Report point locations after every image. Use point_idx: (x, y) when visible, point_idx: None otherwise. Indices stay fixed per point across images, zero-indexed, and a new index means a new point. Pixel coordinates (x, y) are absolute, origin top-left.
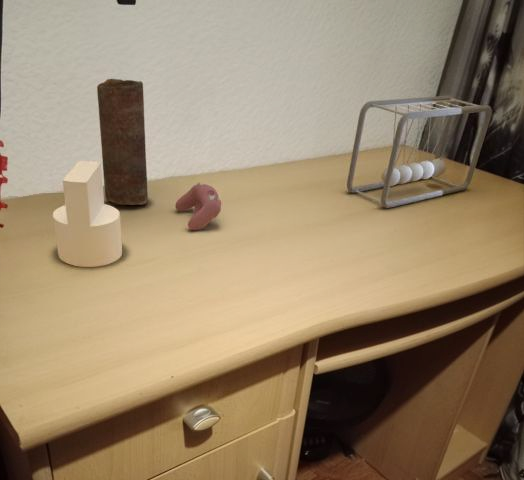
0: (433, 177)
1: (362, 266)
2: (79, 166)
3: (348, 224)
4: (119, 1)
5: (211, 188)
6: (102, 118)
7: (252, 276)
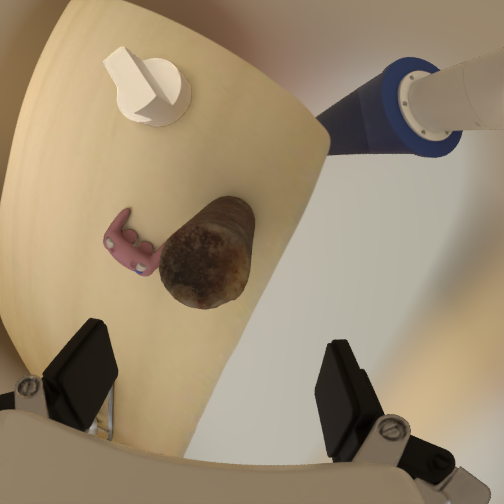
0: (105, 431)
1: (24, 252)
2: (141, 83)
3: (67, 320)
4: (89, 319)
5: (118, 257)
6: (222, 213)
7: (50, 176)
